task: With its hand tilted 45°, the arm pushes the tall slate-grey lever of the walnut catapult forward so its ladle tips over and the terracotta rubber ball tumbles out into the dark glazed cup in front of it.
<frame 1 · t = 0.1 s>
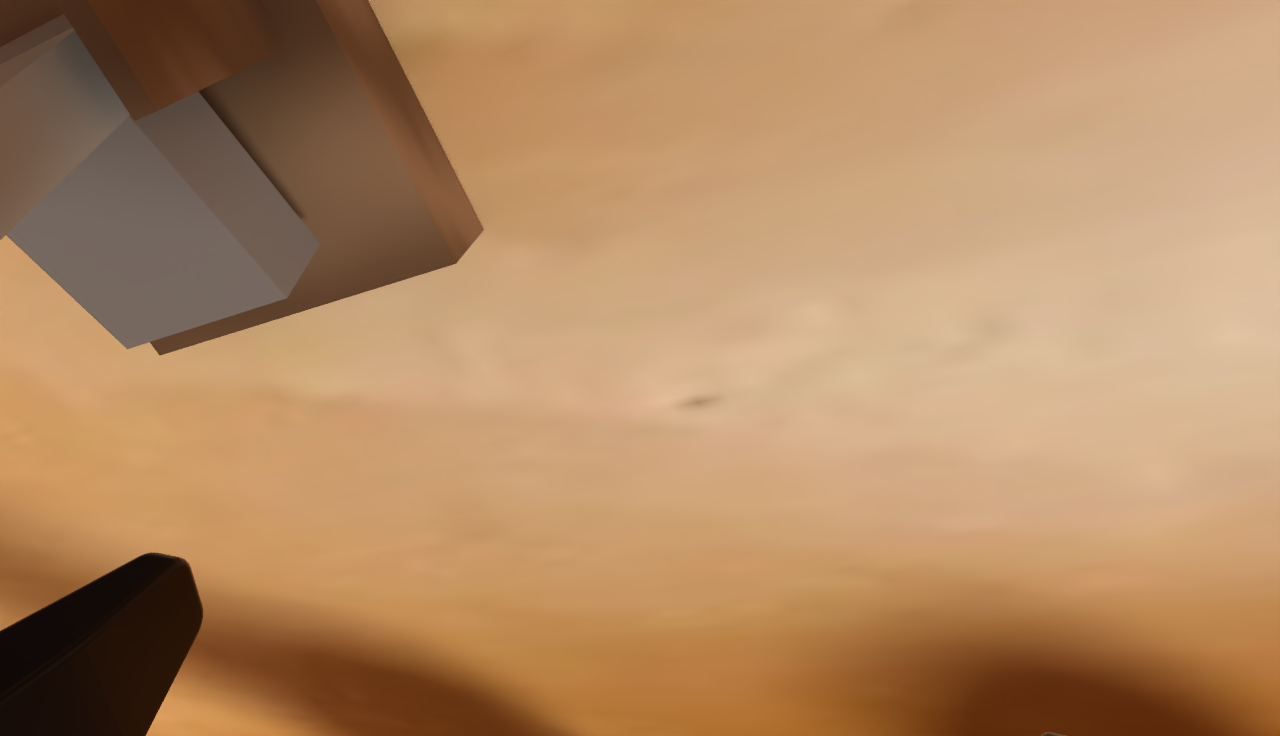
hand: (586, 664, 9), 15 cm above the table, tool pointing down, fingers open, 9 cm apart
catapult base: (184, 33, 23), on the table
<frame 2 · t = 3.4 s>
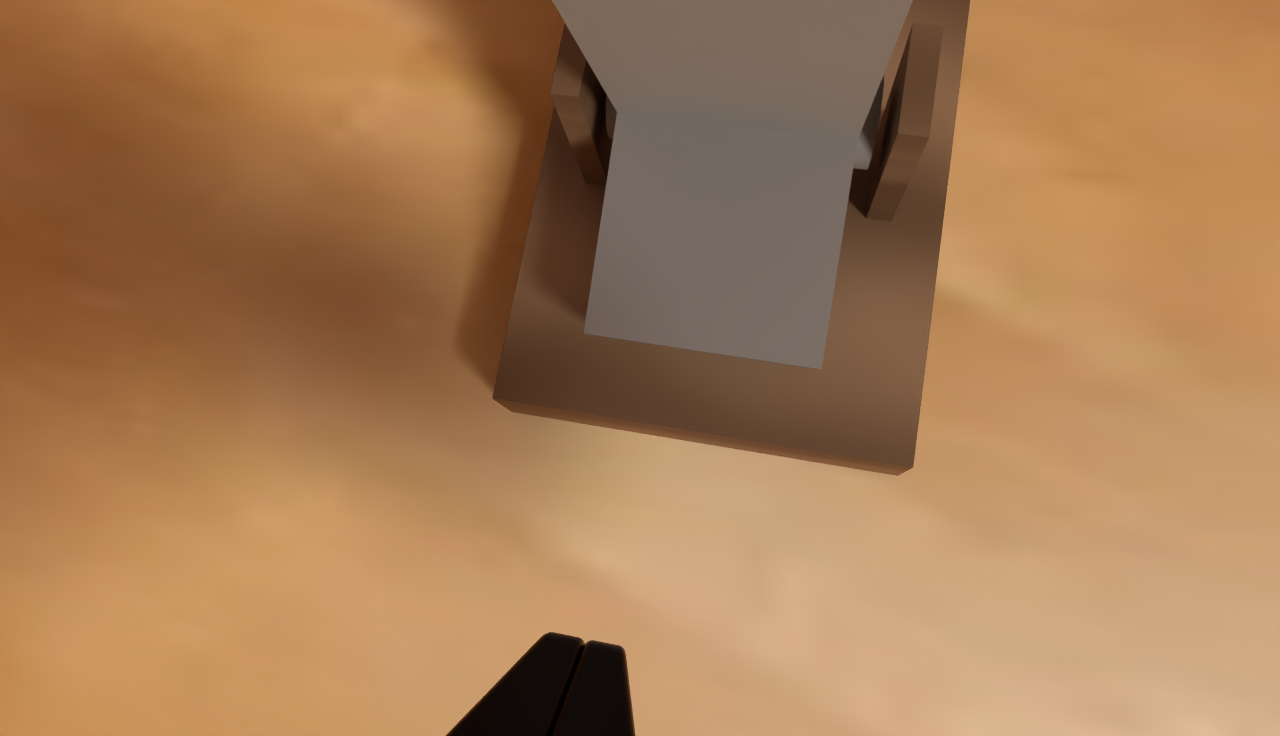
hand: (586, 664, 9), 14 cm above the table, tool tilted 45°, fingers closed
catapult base: (741, 188, 25), on the table
lever: (735, 3, 15), point 10 cm above the table, hinge at -12.0°, touching ball
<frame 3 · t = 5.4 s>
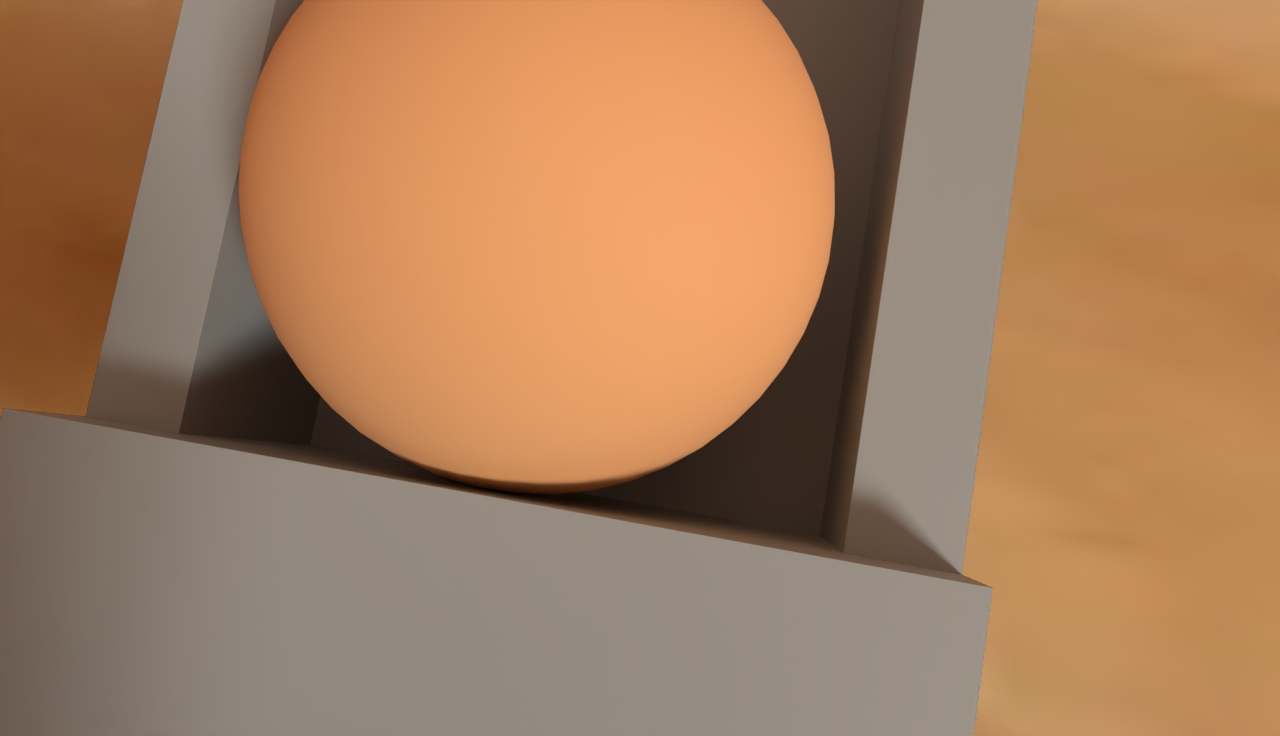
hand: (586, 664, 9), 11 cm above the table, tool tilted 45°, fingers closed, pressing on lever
ball: (546, 209, 5), point 16 cm above the table, tilted 6°, touching lever
lever: (621, 541, 11), point 10 cm above the table, hinge at -5.3°, touching ball, gripper
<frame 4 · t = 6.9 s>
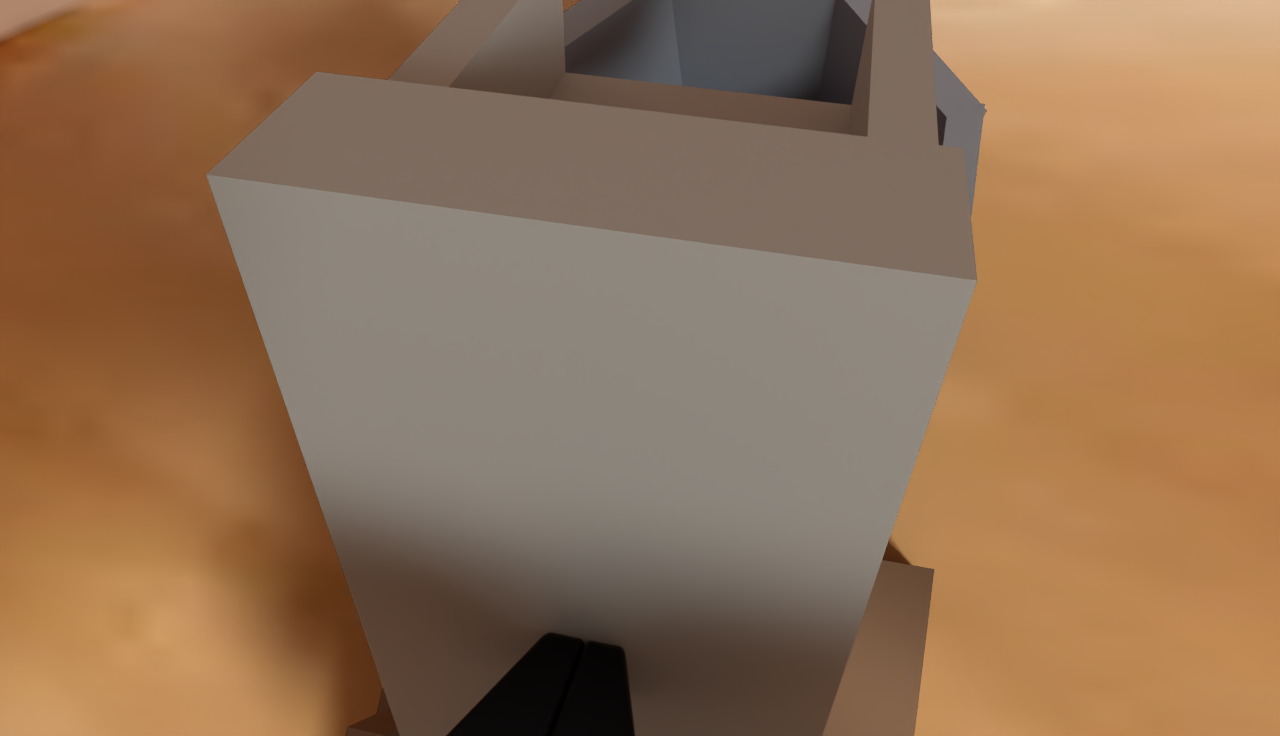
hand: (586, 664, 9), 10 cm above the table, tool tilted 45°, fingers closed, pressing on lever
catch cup: (723, 261, 21), on the table
lever: (607, 639, 11), point 9 cm above the table, hinge at 36.4°, touching gripper
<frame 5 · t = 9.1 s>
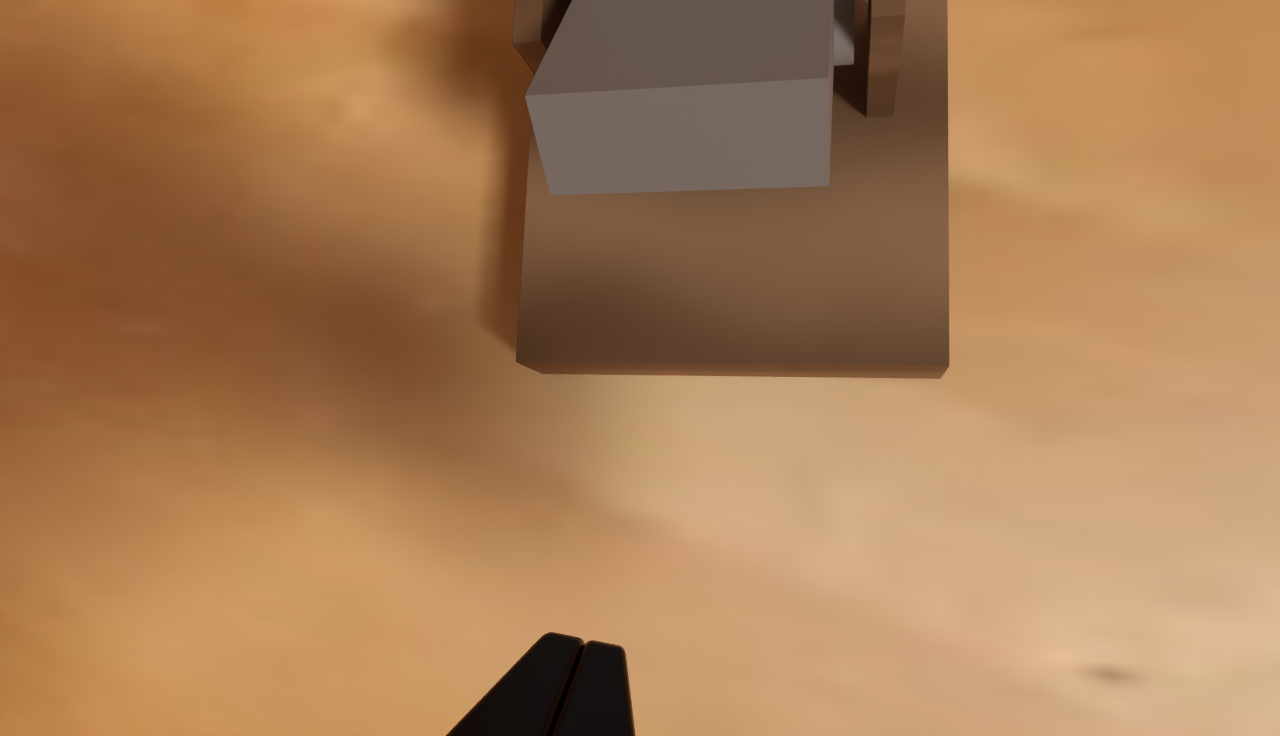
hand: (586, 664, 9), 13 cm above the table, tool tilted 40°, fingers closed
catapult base: (739, 111, 24), on the table
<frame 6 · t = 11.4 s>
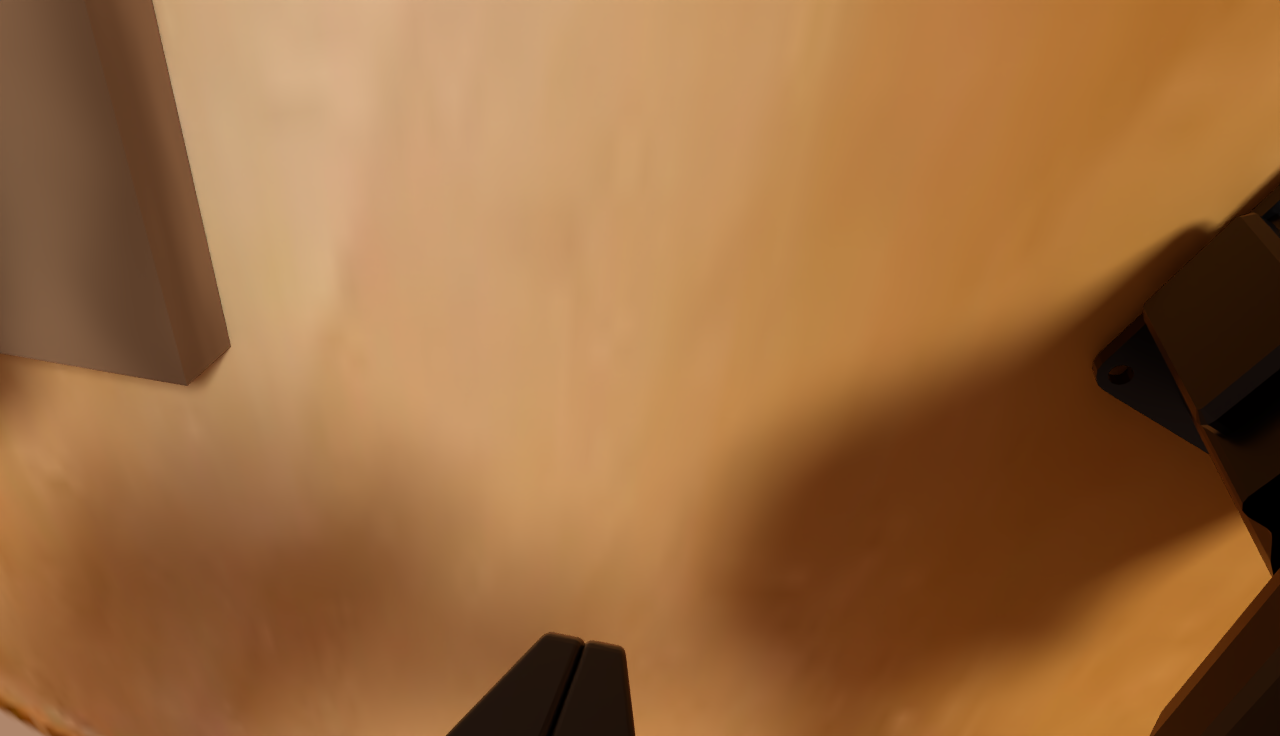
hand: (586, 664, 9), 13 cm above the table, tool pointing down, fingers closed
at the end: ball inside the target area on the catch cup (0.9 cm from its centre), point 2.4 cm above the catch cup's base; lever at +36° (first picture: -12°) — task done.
